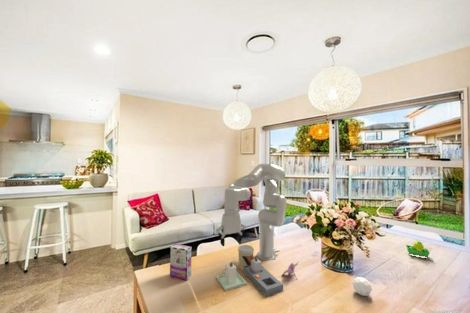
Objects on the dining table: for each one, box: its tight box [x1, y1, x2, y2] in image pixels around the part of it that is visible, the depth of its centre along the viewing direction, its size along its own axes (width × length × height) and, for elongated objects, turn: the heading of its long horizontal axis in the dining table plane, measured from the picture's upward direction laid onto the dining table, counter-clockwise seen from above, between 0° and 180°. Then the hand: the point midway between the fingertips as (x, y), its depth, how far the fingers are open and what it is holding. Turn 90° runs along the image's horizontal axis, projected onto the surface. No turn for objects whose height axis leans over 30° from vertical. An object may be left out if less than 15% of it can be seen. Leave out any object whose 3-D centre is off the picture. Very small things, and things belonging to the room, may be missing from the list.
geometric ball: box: [352, 276, 373, 297], centre depth 99 cm, size 8×8×8 cm
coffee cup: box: [237, 244, 255, 271], centre depth 122 cm, size 9×9×12 cm
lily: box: [281, 261, 300, 280], centre depth 112 cm, size 12×12×10 cm
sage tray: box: [216, 270, 247, 292], centre depth 108 cm, size 12×12×2 cm
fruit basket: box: [405, 240, 431, 257], centre depth 140 cm, size 11×9×11 cm
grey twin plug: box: [251, 256, 262, 274], centre depth 113 cm, size 4×4×10 cm
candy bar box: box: [169, 243, 193, 281], centre depth 113 cm, size 11×5×16 cm, turn 70°
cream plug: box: [225, 261, 237, 284], centre depth 108 cm, size 4×4×10 cm
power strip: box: [243, 265, 284, 297], centre depth 108 cm, size 22×10×4 cm, turn 26°
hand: (231, 243), depth 108 cm, fingers open, 9 cm apart
